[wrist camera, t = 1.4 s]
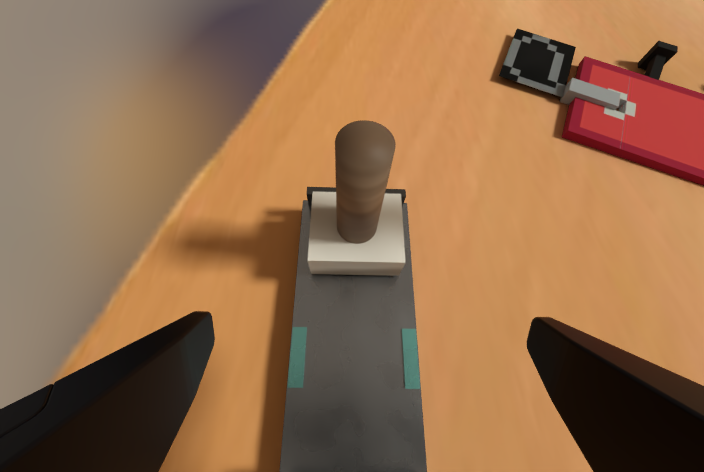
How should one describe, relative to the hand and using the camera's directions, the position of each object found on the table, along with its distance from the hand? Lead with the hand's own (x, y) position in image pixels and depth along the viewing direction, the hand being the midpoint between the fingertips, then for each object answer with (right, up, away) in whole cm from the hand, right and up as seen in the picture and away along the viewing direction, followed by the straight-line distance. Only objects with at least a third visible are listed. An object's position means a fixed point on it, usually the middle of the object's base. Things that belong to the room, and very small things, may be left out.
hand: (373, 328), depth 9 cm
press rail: (0, -4, +13) cm, 14 cm away
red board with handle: (+29, +15, +24) cm, 41 cm away
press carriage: (0, +2, +14) cm, 14 cm away
